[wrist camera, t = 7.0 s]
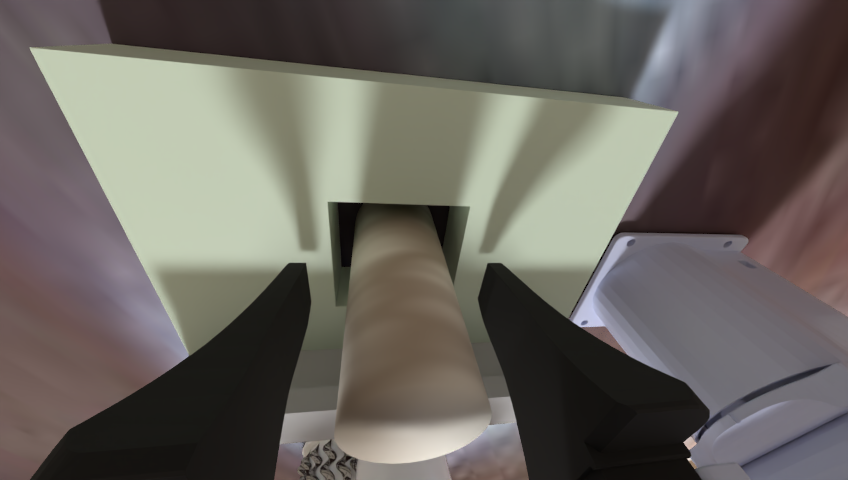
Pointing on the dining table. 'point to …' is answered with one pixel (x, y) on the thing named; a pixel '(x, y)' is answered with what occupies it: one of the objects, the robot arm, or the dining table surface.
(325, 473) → the decorative candle
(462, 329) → the peg
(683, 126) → the dining table surface
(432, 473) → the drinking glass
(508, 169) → the socket board
